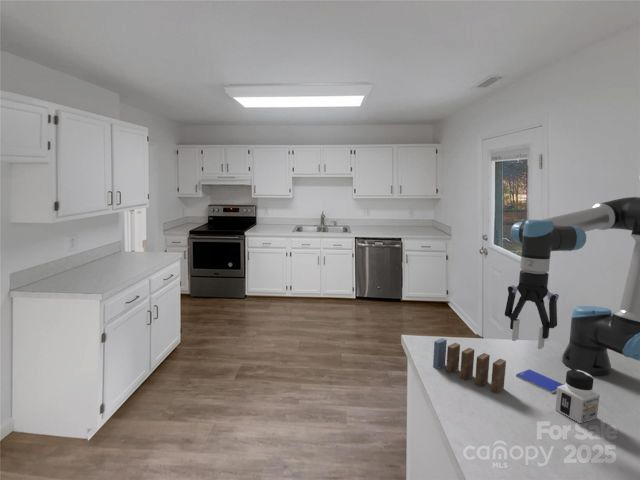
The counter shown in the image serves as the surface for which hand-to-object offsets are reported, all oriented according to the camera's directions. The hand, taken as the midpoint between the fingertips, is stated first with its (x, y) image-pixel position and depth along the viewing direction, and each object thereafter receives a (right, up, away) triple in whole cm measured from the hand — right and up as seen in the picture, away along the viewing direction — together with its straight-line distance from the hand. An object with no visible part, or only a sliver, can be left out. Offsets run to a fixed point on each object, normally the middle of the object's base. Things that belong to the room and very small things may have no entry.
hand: (527, 343), depth 114 cm
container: (+12, -20, -4) cm, 24 cm away
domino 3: (-9, -17, +13) cm, 23 cm away
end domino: (-19, -16, +25) cm, 36 cm away
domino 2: (-12, -17, +17) cm, 27 cm away
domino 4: (-5, -18, +9) cm, 21 cm away
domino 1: (-16, -16, +21) cm, 31 cm away
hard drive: (+12, -18, +14) cm, 26 cm away
